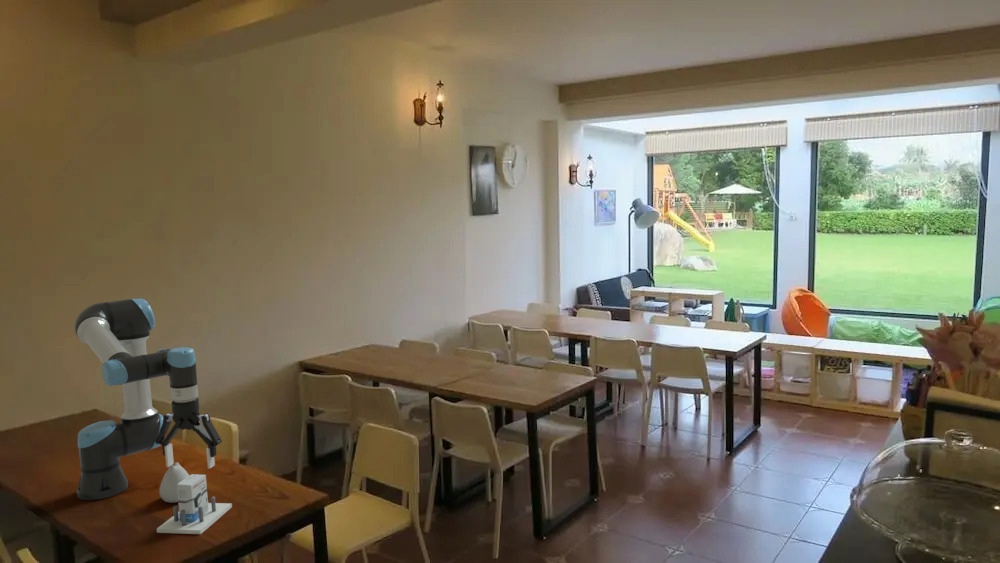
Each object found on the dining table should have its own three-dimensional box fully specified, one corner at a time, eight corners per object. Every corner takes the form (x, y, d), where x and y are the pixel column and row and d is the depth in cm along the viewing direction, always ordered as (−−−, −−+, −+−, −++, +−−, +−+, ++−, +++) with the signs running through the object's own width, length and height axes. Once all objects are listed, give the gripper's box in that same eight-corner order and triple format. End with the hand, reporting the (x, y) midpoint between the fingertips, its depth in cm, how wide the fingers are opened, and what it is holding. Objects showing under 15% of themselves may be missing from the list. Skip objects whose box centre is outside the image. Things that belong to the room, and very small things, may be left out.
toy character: (169, 492, 235) (166, 458, 234) (200, 491, 235) (197, 457, 234) (153, 505, 225) (150, 470, 224) (185, 505, 225) (182, 469, 223)
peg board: (156, 532, 206) (155, 514, 206) (191, 505, 224) (189, 489, 223) (200, 534, 204) (199, 515, 204) (231, 507, 222) (230, 490, 221)
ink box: (194, 522, 210) (190, 485, 208) (179, 521, 210) (175, 484, 209) (209, 509, 218) (206, 474, 216) (195, 509, 219) (192, 473, 217)
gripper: (139, 402, 208) (145, 469, 210) (217, 403, 204) (222, 472, 207) (154, 394, 215) (160, 460, 218) (230, 396, 212) (235, 462, 214)
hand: (190, 466), depth 212 cm, fingers open, 13 cm apart
